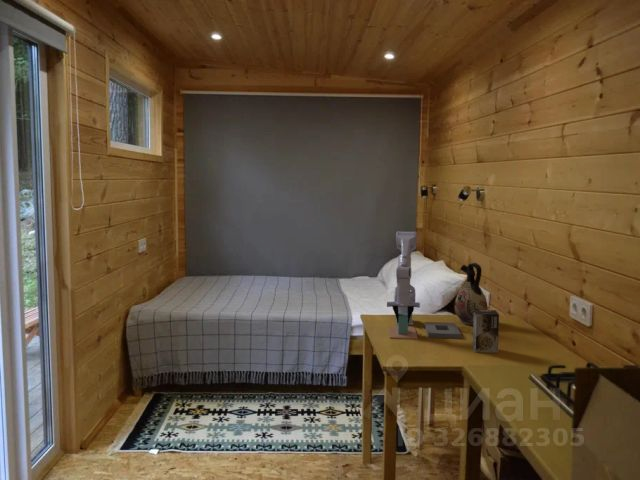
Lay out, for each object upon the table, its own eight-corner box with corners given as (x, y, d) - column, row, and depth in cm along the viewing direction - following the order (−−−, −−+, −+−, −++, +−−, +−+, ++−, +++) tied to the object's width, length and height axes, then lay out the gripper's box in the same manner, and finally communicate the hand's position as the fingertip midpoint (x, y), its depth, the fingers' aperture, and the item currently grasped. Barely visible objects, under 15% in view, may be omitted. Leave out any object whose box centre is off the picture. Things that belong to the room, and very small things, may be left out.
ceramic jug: (447, 320, 260) (449, 260, 256) (472, 317, 267) (474, 258, 263) (470, 329, 245) (473, 265, 241) (496, 326, 251) (499, 263, 248)
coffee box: (494, 348, 219) (496, 309, 217) (498, 353, 213) (499, 314, 211) (471, 347, 220) (473, 309, 218) (474, 352, 214) (476, 313, 212)
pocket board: (424, 326, 251) (424, 321, 251) (454, 326, 250) (454, 322, 249) (428, 337, 233) (428, 333, 233) (461, 338, 232) (461, 334, 232)
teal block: (397, 330, 242) (398, 313, 241) (406, 330, 242) (407, 313, 241) (398, 334, 236) (398, 316, 235) (407, 334, 236) (407, 316, 235)
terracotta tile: (388, 328, 248) (388, 326, 247) (414, 328, 246) (414, 327, 246) (389, 338, 232) (389, 337, 232) (417, 339, 231) (417, 337, 231)
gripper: (387, 294, 234) (386, 324, 235) (420, 295, 232) (419, 325, 234) (386, 291, 240) (386, 320, 242) (419, 291, 239) (418, 321, 241)
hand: (402, 322), depth 238 cm, fingers closed on teal block, 4 cm apart
